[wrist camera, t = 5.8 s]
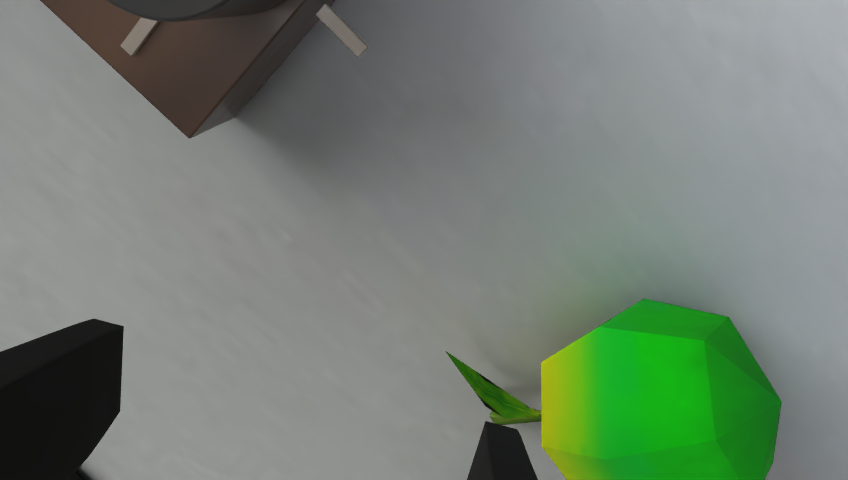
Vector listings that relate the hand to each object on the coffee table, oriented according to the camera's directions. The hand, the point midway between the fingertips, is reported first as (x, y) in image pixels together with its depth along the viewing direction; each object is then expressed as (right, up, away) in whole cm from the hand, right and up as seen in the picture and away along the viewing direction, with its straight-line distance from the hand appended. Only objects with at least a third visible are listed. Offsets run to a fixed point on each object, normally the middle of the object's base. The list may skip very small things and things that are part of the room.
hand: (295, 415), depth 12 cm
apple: (+7, +1, +7) cm, 10 cm away
